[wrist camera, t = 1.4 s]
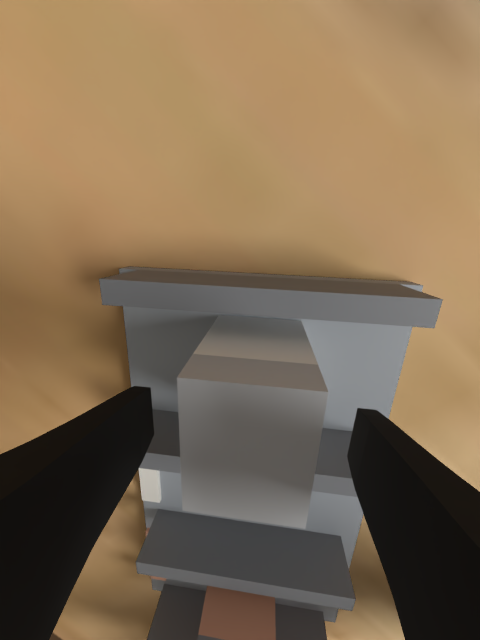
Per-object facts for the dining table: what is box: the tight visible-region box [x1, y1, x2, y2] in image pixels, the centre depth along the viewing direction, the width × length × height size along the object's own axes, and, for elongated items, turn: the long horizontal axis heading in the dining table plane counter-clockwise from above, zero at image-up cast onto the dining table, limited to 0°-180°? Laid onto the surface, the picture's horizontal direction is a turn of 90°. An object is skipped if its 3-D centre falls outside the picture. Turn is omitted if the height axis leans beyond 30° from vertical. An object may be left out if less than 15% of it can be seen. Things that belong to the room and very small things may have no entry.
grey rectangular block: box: [177, 315, 328, 529], centre depth 10 cm, size 4×5×6 cm
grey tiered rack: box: [99, 267, 443, 640], centre depth 15 cm, size 14×25×4 cm, turn 178°
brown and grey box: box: [197, 586, 276, 640], centre depth 15 cm, size 4×5×6 cm
